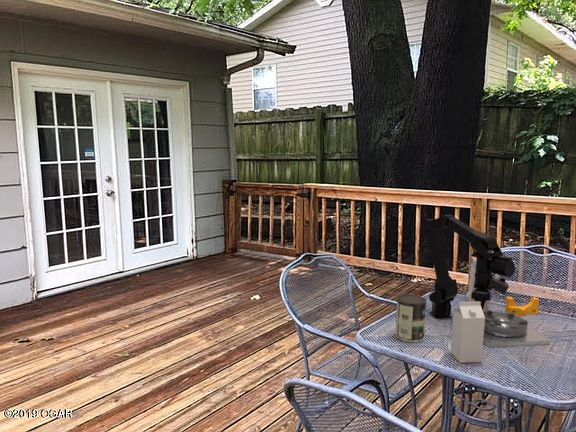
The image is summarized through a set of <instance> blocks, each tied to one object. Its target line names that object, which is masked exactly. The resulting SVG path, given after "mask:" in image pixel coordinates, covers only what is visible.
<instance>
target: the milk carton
mask: <svg viewBox="0 0 576 432" xmlns="http://www.w3.org/2000/svg"><path fill="white" fill-rule="evenodd" d="M452 318H453V319H452V328H451V329H452V331H451V343H450V353H451V355H452V356H454V358H455V359H456V360H457V361H458V362H459V363H482V358H483V357H482V355H483V347H484V344H483V335H484V323H485V316H484V313H483V310H482V308H481V302H468V301H458V306H456V307H455V308H454V309H453V314H452Z"/></svg>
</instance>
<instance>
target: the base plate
mask: <svg viewBox="0 0 576 432" xmlns="http://www.w3.org/2000/svg"><path fill="white" fill-rule="evenodd" d="M483 345H484V346H486V347H487V348H501V347H502V348H503V347H522V346H523V347H524V346H541V345H542V346H544V345H546V346H547V345H551V339H549V338H548V337H546V336H545V335H543V334H541V333H540V332H539V331H537V330H535V329H534V328H532V327H530V326H529V325H528V326H527V333H526V335H524V336H521V337H502V336H497V335H493V334H489V333H487V332H484V335H483Z"/></svg>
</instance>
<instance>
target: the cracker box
mask: <svg viewBox="0 0 576 432" xmlns="http://www.w3.org/2000/svg"><path fill="white" fill-rule="evenodd" d="M470 260H471V261H470V273H469V283H468V284H469V285H468V295H467V302H475V300H474V299H472V298H471V293H472V290H474V289H476V288H474V282H475V269H476V257H473V256H471V259H470ZM488 303H489V301H486V302H485V305H484V308H483V312H487V309H488Z"/></svg>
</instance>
